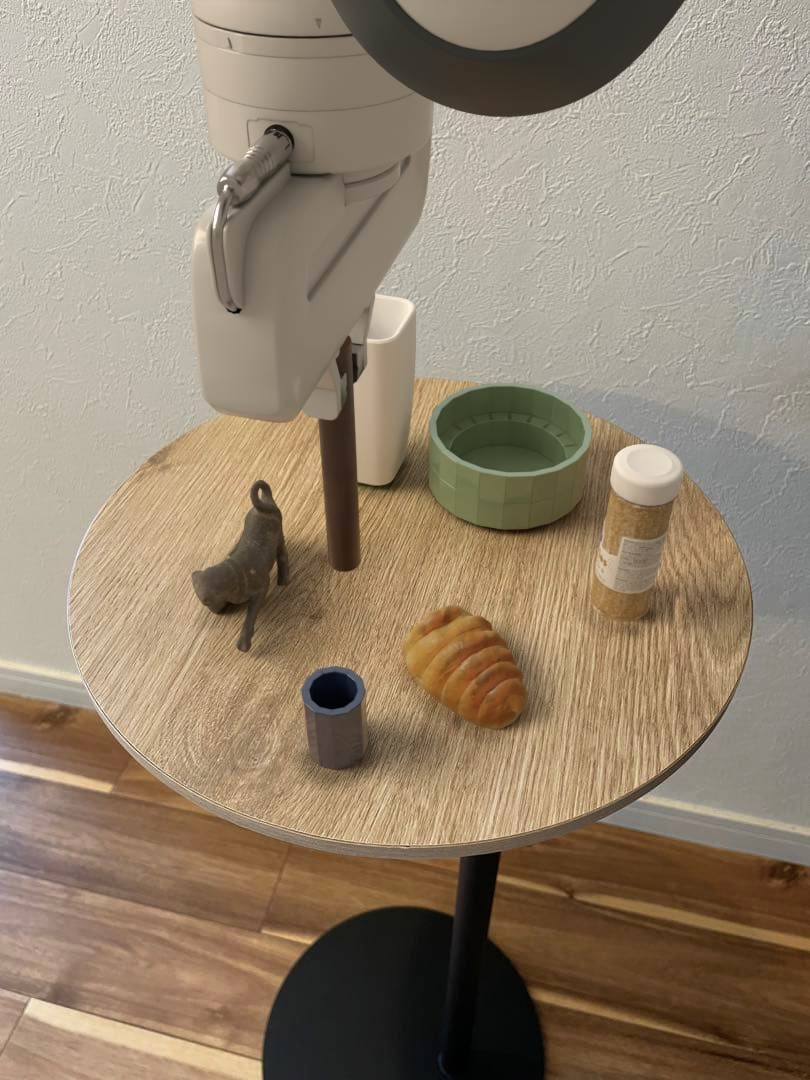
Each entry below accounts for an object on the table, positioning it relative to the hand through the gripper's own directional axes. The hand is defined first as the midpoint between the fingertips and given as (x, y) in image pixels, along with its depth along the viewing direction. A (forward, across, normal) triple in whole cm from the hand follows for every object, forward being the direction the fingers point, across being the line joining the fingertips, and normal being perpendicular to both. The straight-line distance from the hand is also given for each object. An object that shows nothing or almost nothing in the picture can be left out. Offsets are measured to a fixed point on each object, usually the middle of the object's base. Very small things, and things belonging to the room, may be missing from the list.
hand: (336, 392), depth 47 cm
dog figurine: (+26, +9, +12) cm, 30 cm away
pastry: (+26, +6, -6) cm, 28 cm away
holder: (+26, -2, 0) cm, 26 cm away
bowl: (+26, +28, -5) cm, 38 cm away
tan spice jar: (+26, +16, -16) cm, 34 cm away
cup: (+26, +27, +7) cm, 38 cm away
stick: (+11, 0, 0) cm, 11 cm away
